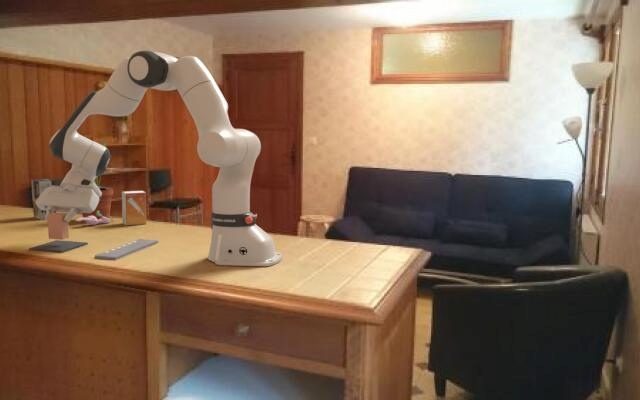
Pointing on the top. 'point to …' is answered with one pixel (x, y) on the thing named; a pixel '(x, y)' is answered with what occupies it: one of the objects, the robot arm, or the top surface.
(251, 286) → the top surface
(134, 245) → the plate
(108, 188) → the potted plant
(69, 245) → the mat
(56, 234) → the stub block
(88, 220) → the rabbit figure
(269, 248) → the robot arm
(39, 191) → the coffee box
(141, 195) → the small box
